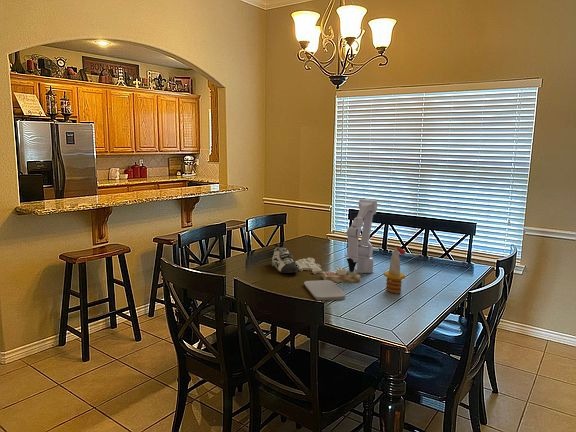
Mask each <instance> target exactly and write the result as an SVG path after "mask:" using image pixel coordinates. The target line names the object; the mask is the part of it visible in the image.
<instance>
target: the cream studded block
mask: <svg viewBox="0 0 576 432" xmlns="http://www.w3.org/2000/svg"><path fill="white" fill-rule="evenodd" d="M336 271H337V274H338V275H346V271H347V269H346V268H345V267H336Z"/></svg>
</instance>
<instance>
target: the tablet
mask: <svg viewBox="0 0 576 432" xmlns="http://www.w3.org/2000/svg"><path fill="white" fill-rule="evenodd" d="M303 282H304V283H303V285H304V287H305V288H306V289H307V290H308V292H309V293H310V294H311V295H312V296H313V298H314V299H315V300H317V301H321V300H322V301H335V300H339V301H340V300H344V299H345V297H347V294H346V293H345V291H344V290H342V288H340V286H338V285H337V284H336V282H333V281H330V280H324V279H322V280H318V279H317V280H305V281H303Z"/></svg>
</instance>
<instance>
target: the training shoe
mask: <svg viewBox="0 0 576 432" xmlns="http://www.w3.org/2000/svg"><path fill="white" fill-rule="evenodd" d="M293 258H294V255H293V254H291V253H290V252H289V250H288V249H287V248H286V247H281V248H280V247H278V246H277V247H275V248H274V251H273V256H272V258H271V259H272V261H271V266H272V267H274V268H275V269H276V271H277V272H278V273H285V274H287V273H288V274H290V273H297V272H299V271H298V269H299V268H298V267H297V266H296V264H295V261H294V259H293Z"/></svg>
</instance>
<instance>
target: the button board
mask: <svg viewBox="0 0 576 432" xmlns="http://www.w3.org/2000/svg"><path fill="white" fill-rule="evenodd" d="M347 271H348V270H346V275H338V274H337V270H334V271H333V270H332V271H329V272H334V273H335V275H327V274H326V272H327V271H322V273H321V277H322V280H330V281H333V282H334V283H349V282H350V283H353V282H354V283H355V282H356V283H357V282H358V283H359V282H361V275H360V273H358V272H357V271H356V270H354V271H355V272H356V275H347Z"/></svg>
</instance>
